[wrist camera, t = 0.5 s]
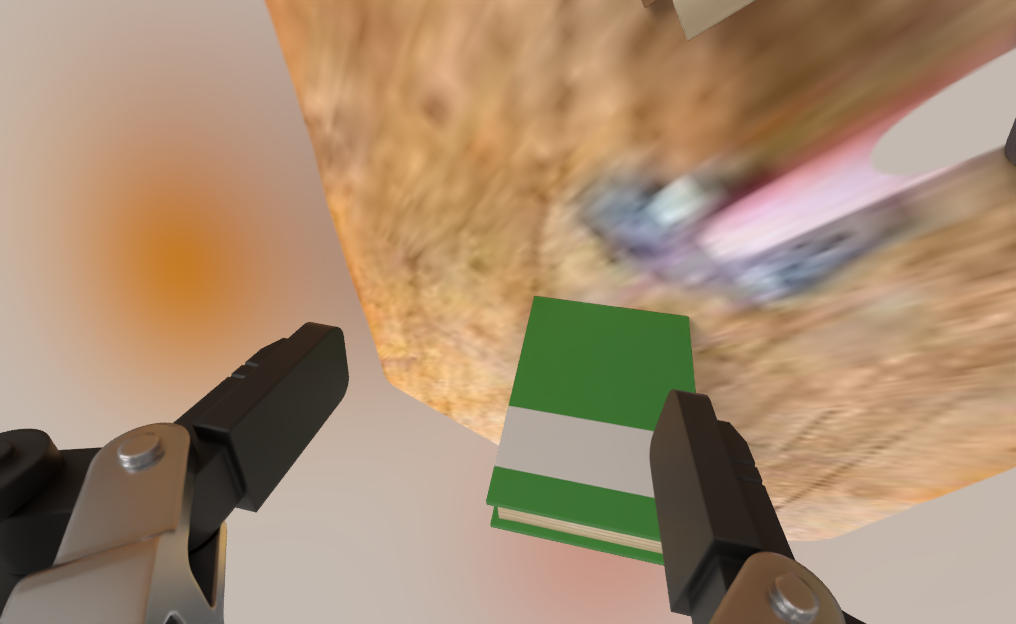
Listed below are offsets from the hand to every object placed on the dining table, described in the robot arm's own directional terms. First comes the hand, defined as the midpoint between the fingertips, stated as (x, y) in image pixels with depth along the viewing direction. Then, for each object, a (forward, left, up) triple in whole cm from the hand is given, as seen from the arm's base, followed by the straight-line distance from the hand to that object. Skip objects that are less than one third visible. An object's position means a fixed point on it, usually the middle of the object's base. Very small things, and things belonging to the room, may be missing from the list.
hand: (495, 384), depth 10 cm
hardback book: (+29, -13, -30) cm, 43 cm away
